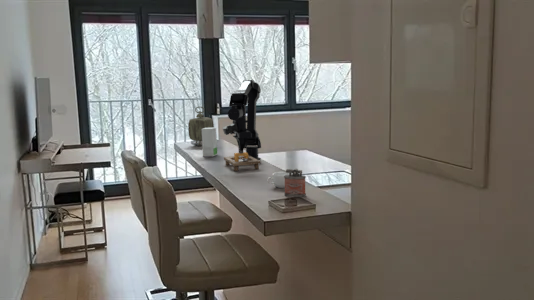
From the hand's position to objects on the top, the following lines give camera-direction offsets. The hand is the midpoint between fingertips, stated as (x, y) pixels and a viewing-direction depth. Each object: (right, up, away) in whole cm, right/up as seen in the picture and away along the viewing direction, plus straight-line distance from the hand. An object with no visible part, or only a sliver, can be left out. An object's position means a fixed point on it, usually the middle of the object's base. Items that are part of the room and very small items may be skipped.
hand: (241, 150), depth 246 cm
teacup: (+18, -15, -44) cm, 50 cm away
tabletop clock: (-30, +3, +79) cm, 84 cm away
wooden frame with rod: (0, -8, +1) cm, 8 cm away
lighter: (+23, -17, -59) cm, 65 cm away
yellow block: (0, -6, +1) cm, 6 cm away
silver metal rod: (0, -4, +1) cm, 4 cm away
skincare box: (-19, -3, +38) cm, 43 cm away
